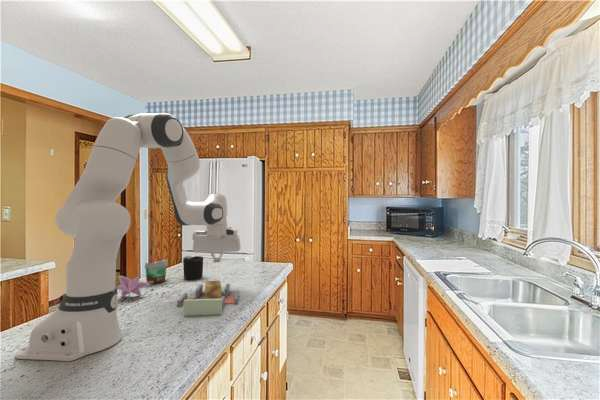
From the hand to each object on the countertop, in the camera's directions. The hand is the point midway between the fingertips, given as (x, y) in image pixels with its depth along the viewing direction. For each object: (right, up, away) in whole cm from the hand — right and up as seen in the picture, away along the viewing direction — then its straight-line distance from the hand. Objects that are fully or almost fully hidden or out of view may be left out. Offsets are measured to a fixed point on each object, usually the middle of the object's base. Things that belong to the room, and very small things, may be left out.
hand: (217, 262), depth 131 cm
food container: (-30, -12, +9) cm, 33 cm away
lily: (-30, -12, -14) cm, 35 cm away
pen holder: (-17, -12, +17) cm, 26 cm away
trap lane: (+2, -12, -17) cm, 21 cm away
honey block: (+1, -12, -9) cm, 15 cm away
